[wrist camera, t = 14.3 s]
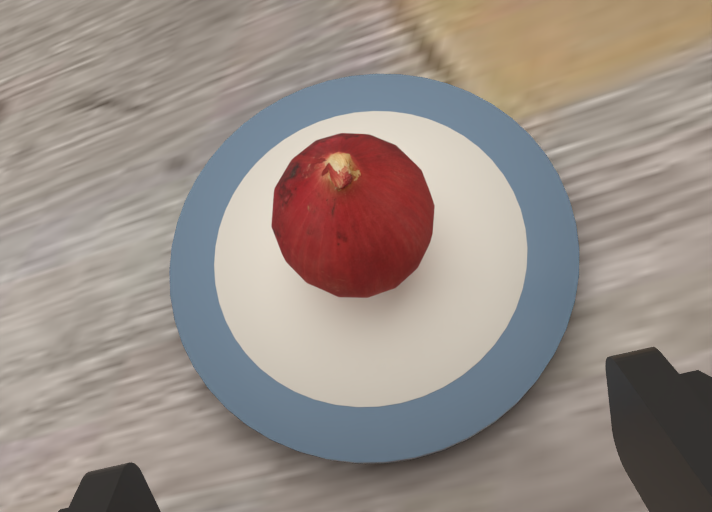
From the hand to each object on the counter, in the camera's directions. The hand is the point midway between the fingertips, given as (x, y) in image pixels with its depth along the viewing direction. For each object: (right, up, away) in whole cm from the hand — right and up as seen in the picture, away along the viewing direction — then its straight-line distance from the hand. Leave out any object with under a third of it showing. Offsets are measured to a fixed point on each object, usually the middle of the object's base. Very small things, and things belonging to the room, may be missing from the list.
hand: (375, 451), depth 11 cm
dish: (0, +3, +18) cm, 19 cm away
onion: (0, +3, +17) cm, 17 cm away
